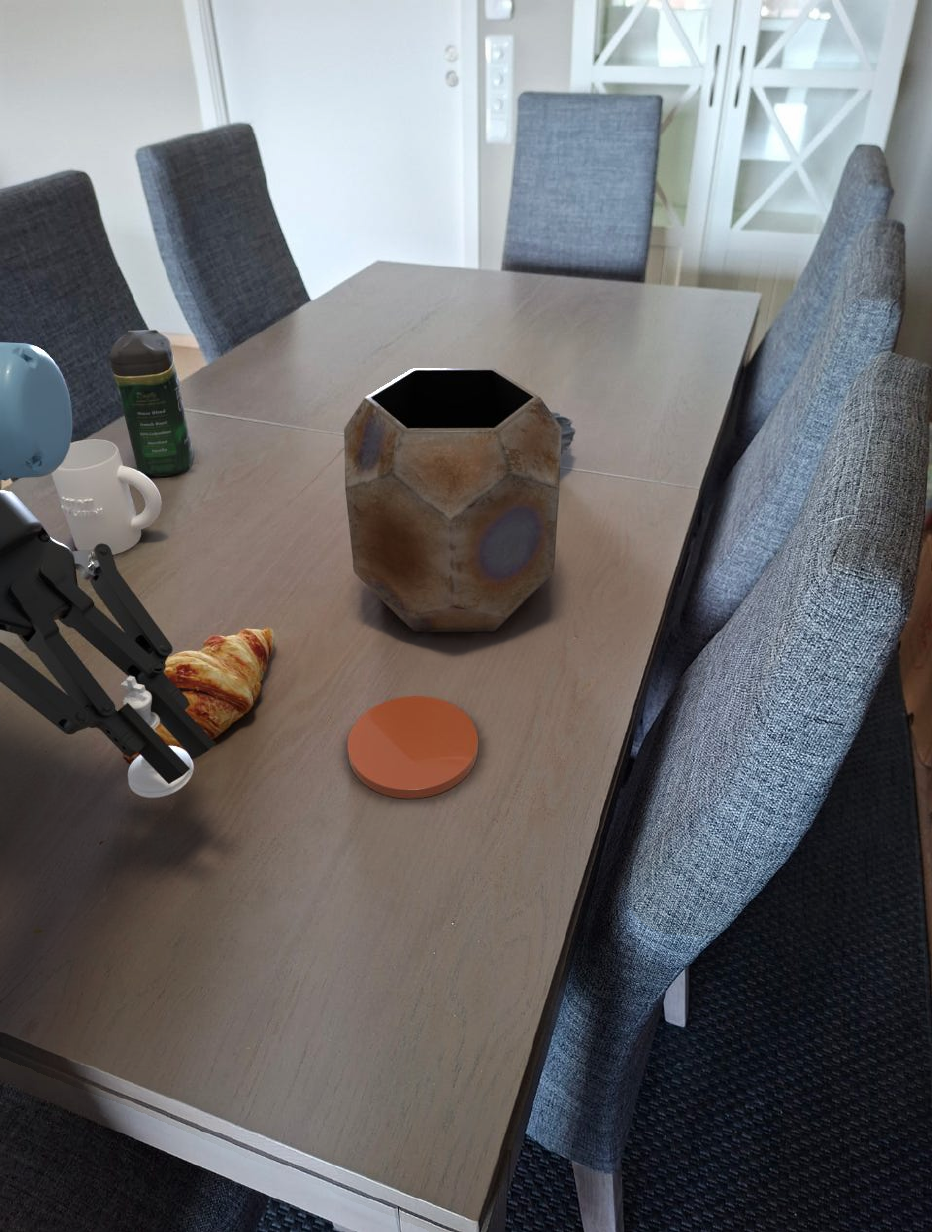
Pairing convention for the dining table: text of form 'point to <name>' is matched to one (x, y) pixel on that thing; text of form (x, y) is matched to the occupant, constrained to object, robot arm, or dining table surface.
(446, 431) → the planter
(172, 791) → the chess piece
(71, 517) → the mug
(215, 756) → the dining table surface
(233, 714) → the croissant
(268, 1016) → the dining table surface
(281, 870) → the dining table surface
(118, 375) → the coffee jar
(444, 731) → the orange flat disc
